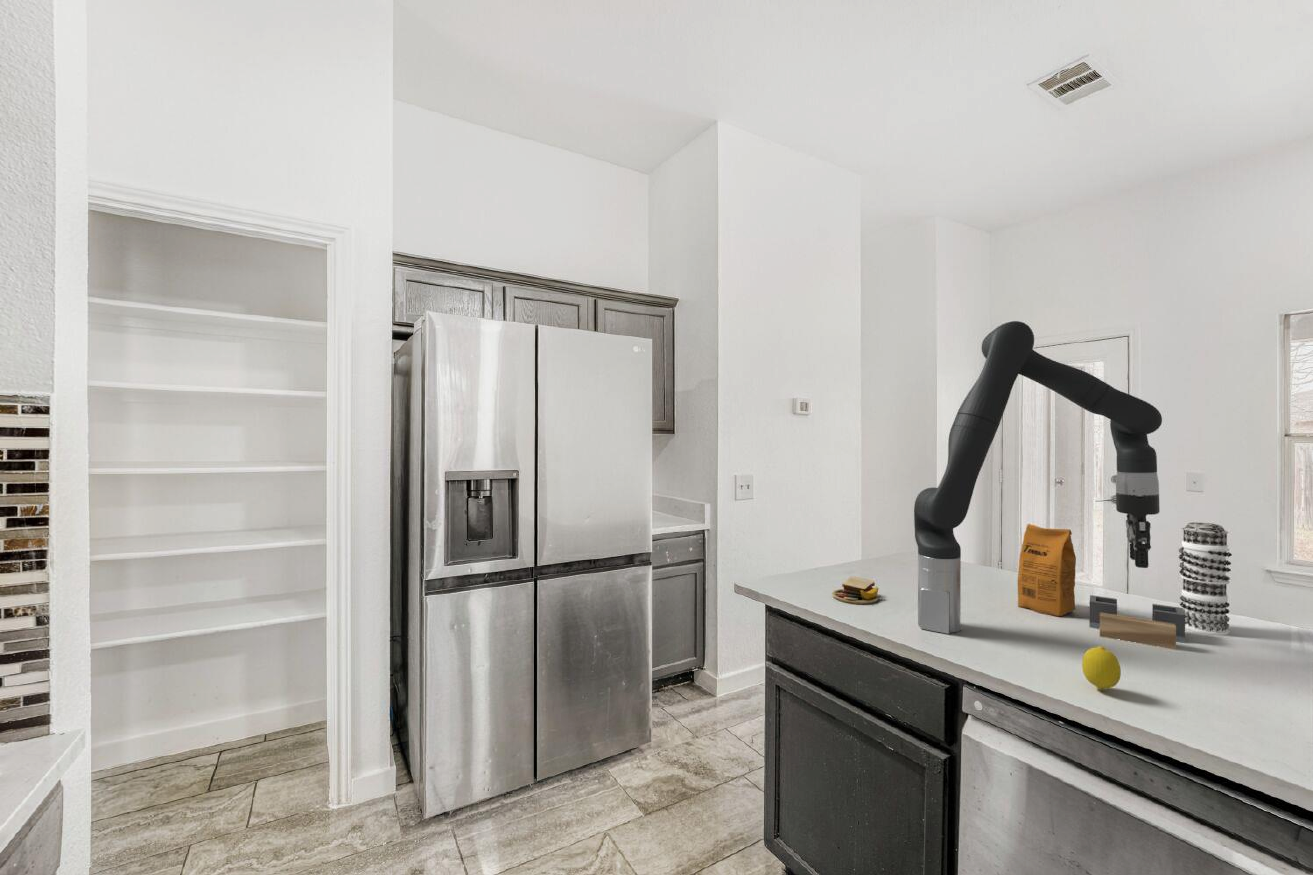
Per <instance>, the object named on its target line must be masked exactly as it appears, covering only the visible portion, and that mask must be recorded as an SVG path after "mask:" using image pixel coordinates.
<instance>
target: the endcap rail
mask: <svg viewBox="0 0 1313 875" xmlns="http://www.w3.org/2000/svg"><path fill="white" fill-rule="evenodd" d="M1151 610H1152V612H1151V613H1152V615H1151V618H1152V619H1151V620H1153V621H1160V622H1166V623H1173V624H1175V626H1176V643H1177V642H1179V643H1183V644H1185V643H1186V629H1185V614H1184V611H1183V607H1180V606H1179V607H1178V606H1171V605H1165V604H1156V603H1152V609H1151ZM1100 612H1101V613H1107V614H1114V615H1118V600H1117V598H1114V597H1107V596H1099V595H1094V594H1093V595H1091V594H1090V596H1089V614H1088V615H1089V624H1088V625H1089V627H1088V628H1093V627H1096V628H1095V629H1099V628H1100Z"/></svg>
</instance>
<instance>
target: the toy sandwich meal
mask: <svg viewBox="0 0 1313 875" xmlns="http://www.w3.org/2000/svg"><path fill="white" fill-rule="evenodd" d="M875 584H876V582H875V581H873V580H871V579H868V578H865V577H861V576H850V577H849V578H848V579H847V580H845V581H844V582H842V584H841V587H842V589H841V588H840V589H835V590H833V591H832V593H831V595H832V597H833V598H834V599H836V600H837V601H840V602H842V603H847V604H852V605H855V604H856V605H869V604H870V605H871V604H873V603H876V602H877V601H878V600H879V599H880V597H879V595H878V593H879V587H878V586H875ZM874 586H875V587H874Z"/></svg>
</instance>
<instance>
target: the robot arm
mask: <svg viewBox="0 0 1313 875" xmlns="http://www.w3.org/2000/svg"><path fill="white" fill-rule="evenodd" d="M1034 334H1035V333H1034V332H1033V330H1032V329H1031V327H1030V326H1029V325H1028V324H1026V323H1025V322H1023V321H1018V320H1012V321H1009V322H1005V323H1002V324H1000V325H999V326H997V327H996V328H994V329H993V330H992V331H991V332H990V333H988V334H987V335H986V336H985V337H984V339H983V340H982V342H981V353H982V355H983V357H984V358H985V362H984V365H983V368H982V370H981V372H980V374H979V376H978V378H977V379H976V381H975V383H974V384H973V386H972V387H971V389H970V390H969V391H968V393H967V394H966V396H965V398H964V400H963V401H962V403H961V405H960V406H959V409H958V410H957V413H956V414H955V418H954V419H953V420H954V421H953V423H952V424H951V425H952V426H951V427H950V429H949V434H948V443H947V444H948V445H947V447H948V448H947V449H948V450H947V451H948V452H947V453H948V455H947V464H946V468H945V470H944V473H943V476H942V478H941V480H940V483H939V484H938V486H937V487H928V488H925V489H923V490H921V491H920V492H919V493H918V494H917V496H916V498H915V502H914V507H913V518H914V519H913V522H914V523H913V524H914V526H913V527H914V539H915V543H916V545H917V624H918V626H919V627H920V629H922V630H926V631H927V630H928V631H933V632H937V633H942V634H951V633H956V632H959V631H961V617H962V616H961V613H962V612H961V606H962V605H961V602H962V601H961V599H962V598H961V597H962V596H961V585H962V584H961V583H962V582H961V577H962V576H961V571H962V561H961V559H962V557H961V556H962V548H961V545H960V544H959V542H958V540H957V538H956V536H955V533H954V529H955V528H957V527H959V526H960V525H961V524H962V523H963V522H964V520H965V519H966V516H967V514H968V511H969V508H970V505H971V501H972V497H973V493H974V490H975V486H976V483H977V480H978V477H979V474H980V473H981V470H982V468H983V465H984V462H985V460H986V457H987V455H988V453H989V450H990V448H991V445H992V443H993V441H994V438H995V436H996V434H997V432H998V429H999V426H1000V424H1001V421H1002V418H1003V415H1004V413H1005V410H1006V408H1007V405H1008V402H1009V399H1010V396H1011V393H1012V389H1013V387H1014V384H1015V382H1016V380H1017V378H1018V376H1019V375H1021V376H1023V377H1025V378H1027V379H1029V380H1031V381H1033V382H1036V383H1038V384H1039V385H1042V386H1044V387H1046V388H1047V389H1049V390H1051V391H1054V393H1057V394H1058V395H1060V396H1062V397H1063V398H1065V399H1067V400H1068V401H1070V402H1072V403H1074V404H1075V405H1077V406H1078V407H1080V408H1082V409H1084V410H1086V411H1087V412H1090V413H1091V414H1095V415H1098V416H1103V417H1105V418H1107V419H1109V420H1110V423H1109V424H1110V425H1109V427H1110V428H1109V429H1110V433H1111V437H1112V441H1113V445H1114V448H1115V451H1116V475H1115V476H1116V477H1115V503H1116V504H1115V505H1116V506H1115V507H1116V508H1115V509H1116V512H1118V513H1121V514H1126V519H1125V526H1126V527H1125V528H1126V537H1127V541H1128V543H1129V558H1130V560H1133V561H1134V565H1135V567H1136V568H1140V569H1141V568H1142V569H1148V567H1149V551H1150V550H1151V549H1152V546H1151V537H1152V536H1151V529H1152V526H1151V522H1150V521H1149V520H1147V516H1148V515H1149V516H1151V515H1152V516H1153V515H1158V514H1160V483H1159V476H1158V461H1157V458H1158V457H1157V451H1156V449H1155V448H1154V447H1152V446H1151V445H1150V443H1149V439H1148V435H1149V434H1153V433H1155V432H1156V431H1157V430H1159V428H1160V427H1161V426H1162V422H1163V418H1162V417H1163V416H1162V414H1161V412H1160V410H1158V409H1157V407H1155V406H1154V405H1153V404H1151V403H1150V402H1147V401H1146V400H1144V399H1141V398H1139V397H1137V396H1134V395H1132V394H1130V393H1127V392H1124V391H1122V390H1118V389H1117V388H1115V387H1113V386H1112V385H1110V384H1108V383H1107V382H1105V381H1104V380H1102V379H1101V378H1098V377H1096V376H1095V375H1093V374H1091V373H1088V372H1087V371H1084V370H1082V369H1078V368H1076V367H1073V366H1070V365H1068V364H1065V363H1062V362H1058V361H1055V360H1053V359H1051V358H1049V357H1046V356H1045V355H1042V354H1040V353H1039V352H1037V351H1036V350H1034V346H1035V335H1034Z"/></svg>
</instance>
